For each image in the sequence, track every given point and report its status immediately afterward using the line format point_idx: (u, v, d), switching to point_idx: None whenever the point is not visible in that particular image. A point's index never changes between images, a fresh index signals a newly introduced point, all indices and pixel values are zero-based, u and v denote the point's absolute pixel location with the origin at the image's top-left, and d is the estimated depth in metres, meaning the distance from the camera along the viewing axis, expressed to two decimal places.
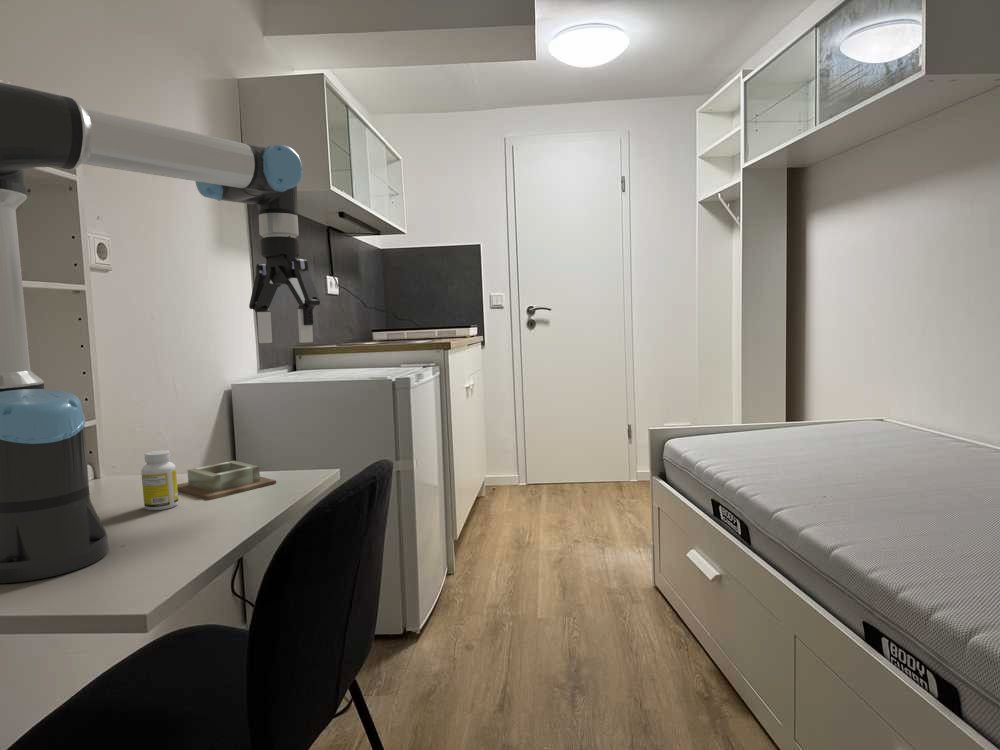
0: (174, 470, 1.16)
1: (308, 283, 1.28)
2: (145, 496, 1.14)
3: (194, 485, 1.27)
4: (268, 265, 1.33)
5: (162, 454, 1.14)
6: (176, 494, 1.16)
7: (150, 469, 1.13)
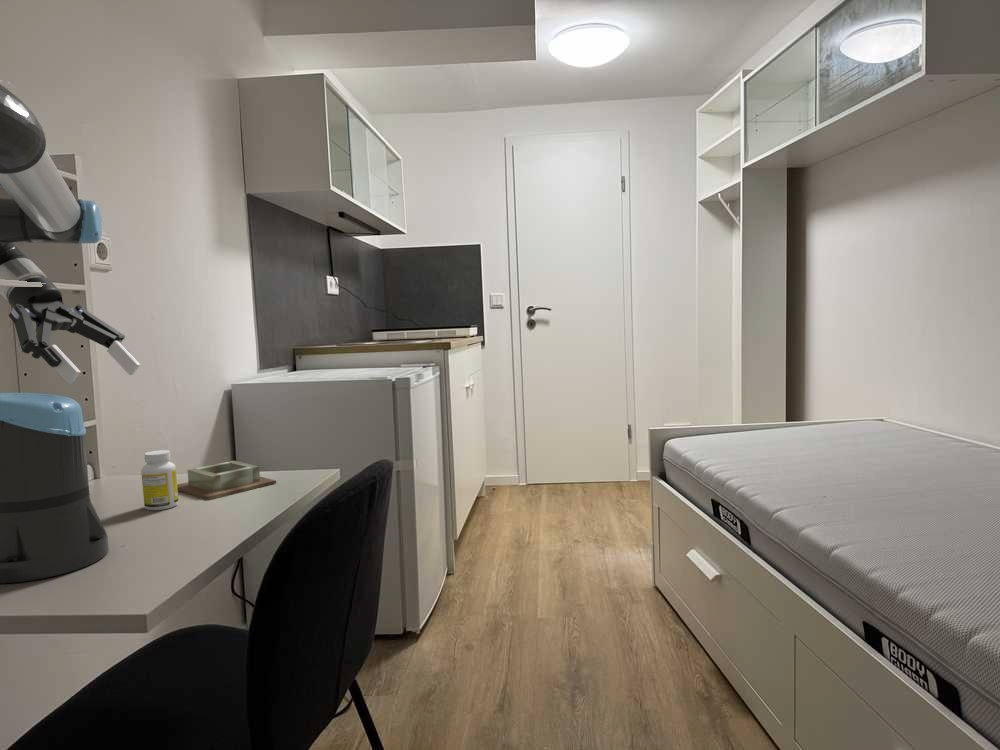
0: (174, 470, 1.16)
1: None
2: (145, 496, 1.14)
3: (194, 485, 1.27)
4: (38, 306, 1.14)
5: (162, 454, 1.14)
6: (176, 494, 1.16)
7: (150, 469, 1.13)
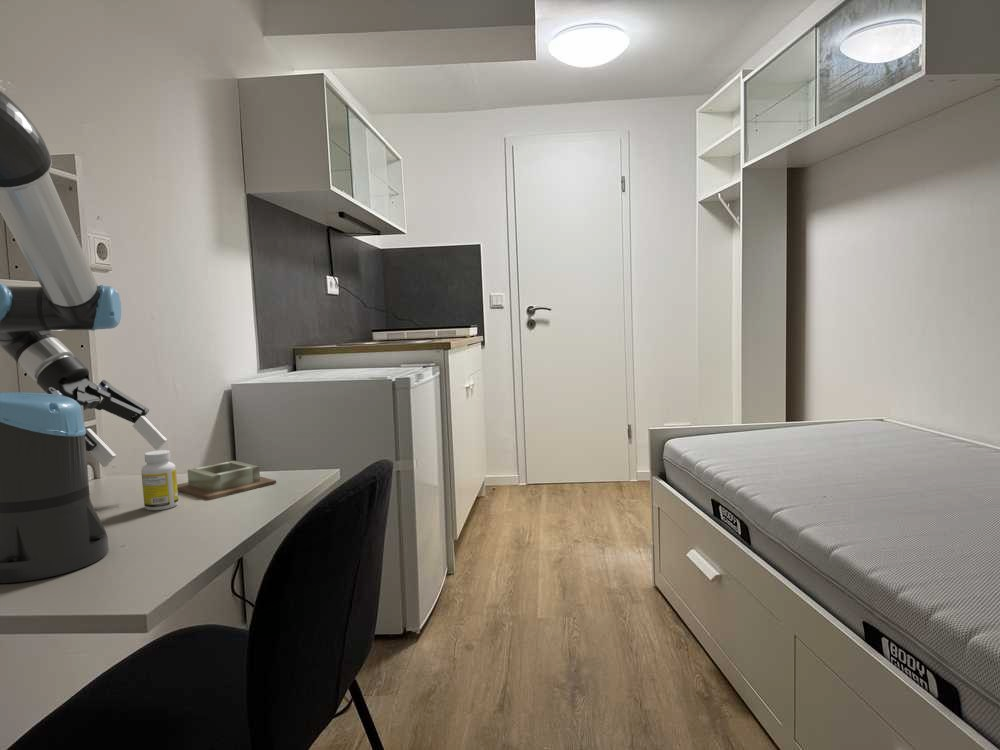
0: (174, 470, 1.16)
1: None
2: (145, 496, 1.14)
3: (194, 485, 1.27)
4: (68, 387, 1.15)
5: (162, 454, 1.14)
6: (176, 494, 1.16)
7: (150, 469, 1.13)
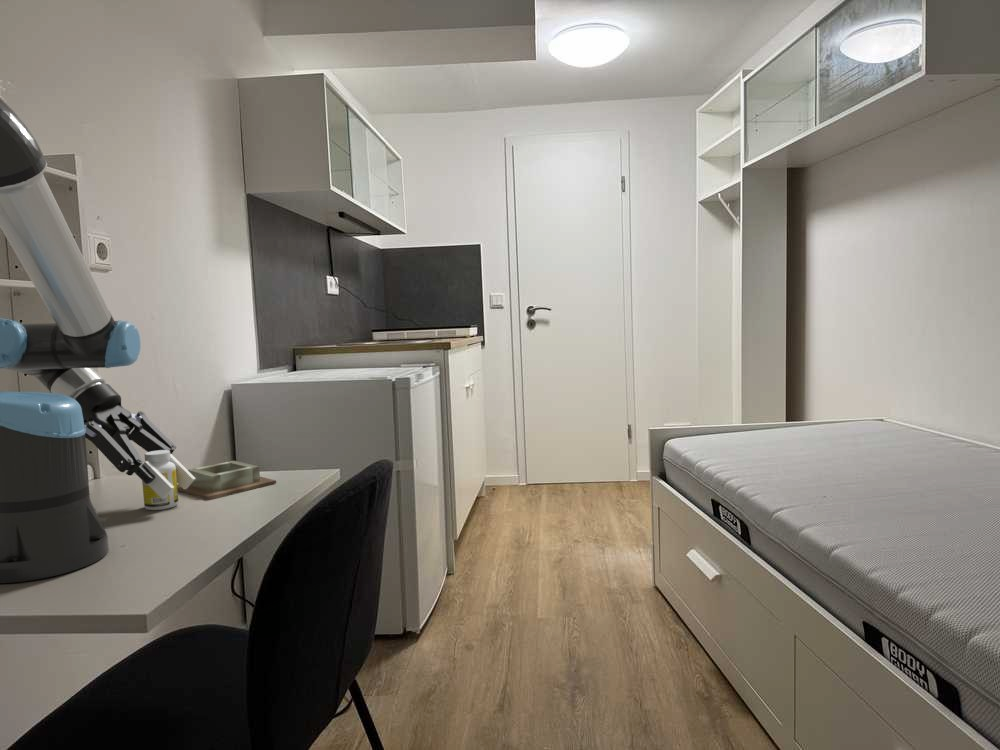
0: (174, 470, 1.16)
1: None
2: (145, 496, 1.14)
3: (194, 485, 1.27)
4: (100, 415, 1.13)
5: (162, 454, 1.14)
6: (176, 494, 1.16)
7: None
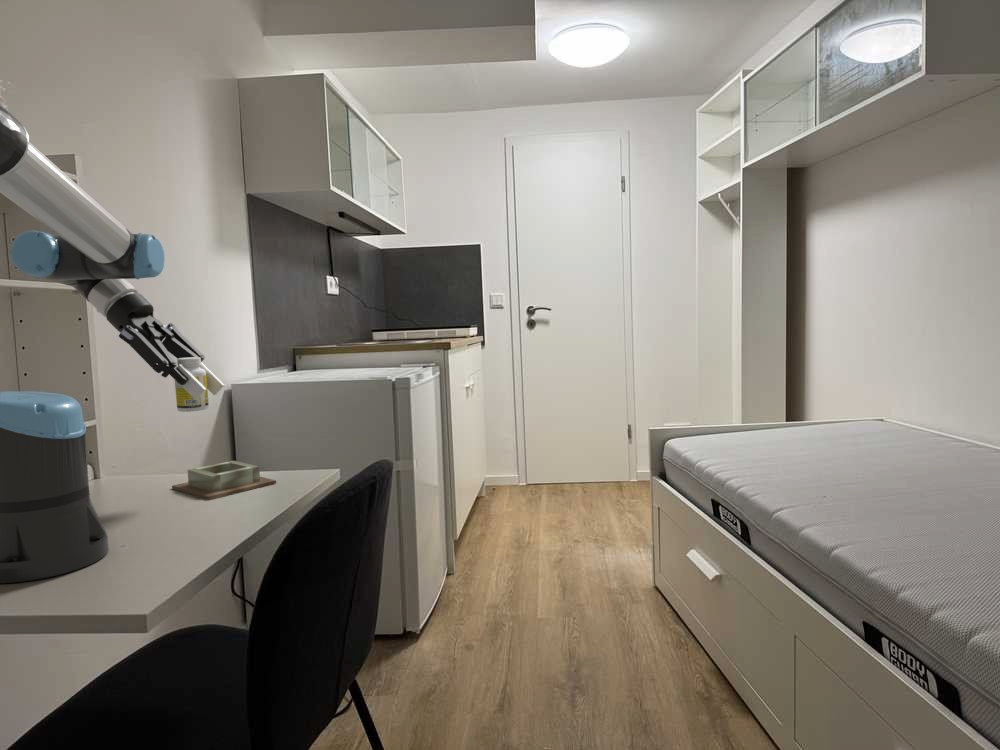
0: (205, 375, 1.23)
1: None
2: (178, 398, 1.21)
3: (194, 485, 1.27)
4: (135, 321, 1.20)
5: (194, 359, 1.21)
6: (207, 398, 1.23)
7: None
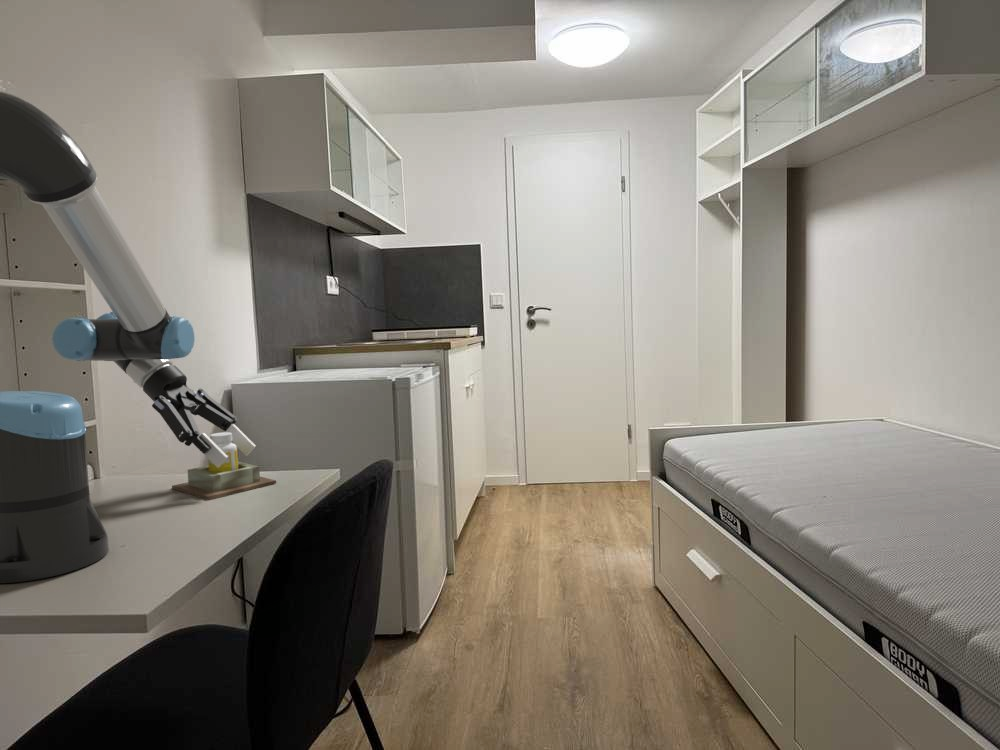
0: (236, 450, 1.29)
1: None
2: None
3: (194, 485, 1.27)
4: (171, 393, 1.26)
5: (226, 435, 1.27)
6: None
7: None
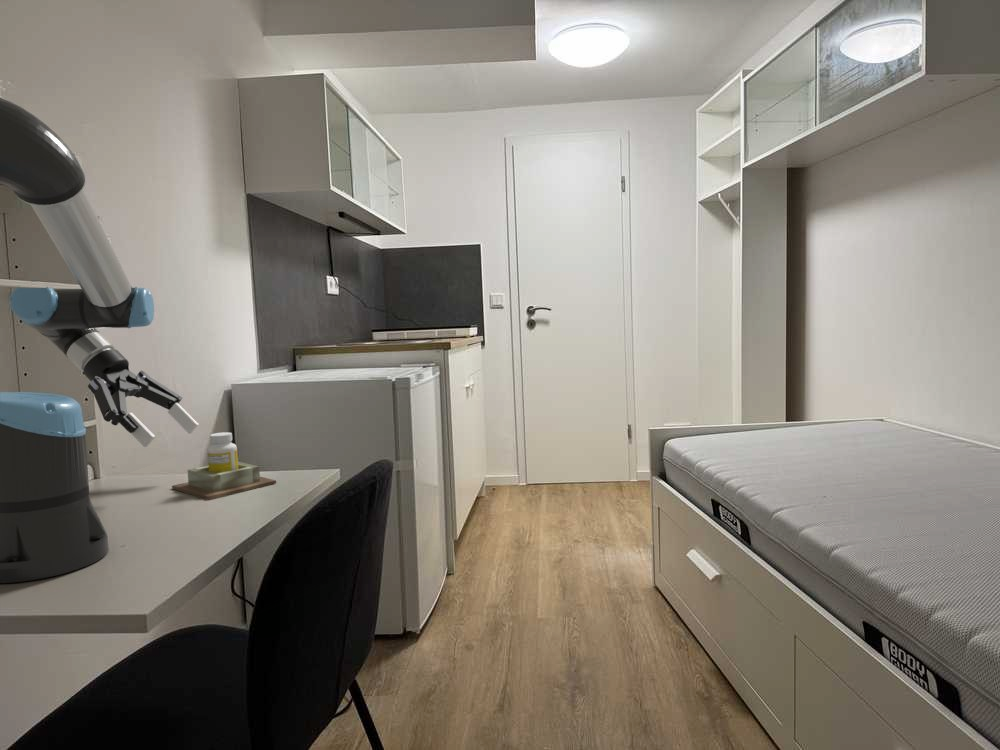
0: (236, 450, 1.29)
1: None
2: None
3: (194, 485, 1.27)
4: (111, 377, 1.28)
5: (226, 435, 1.27)
6: None
7: (216, 449, 1.26)
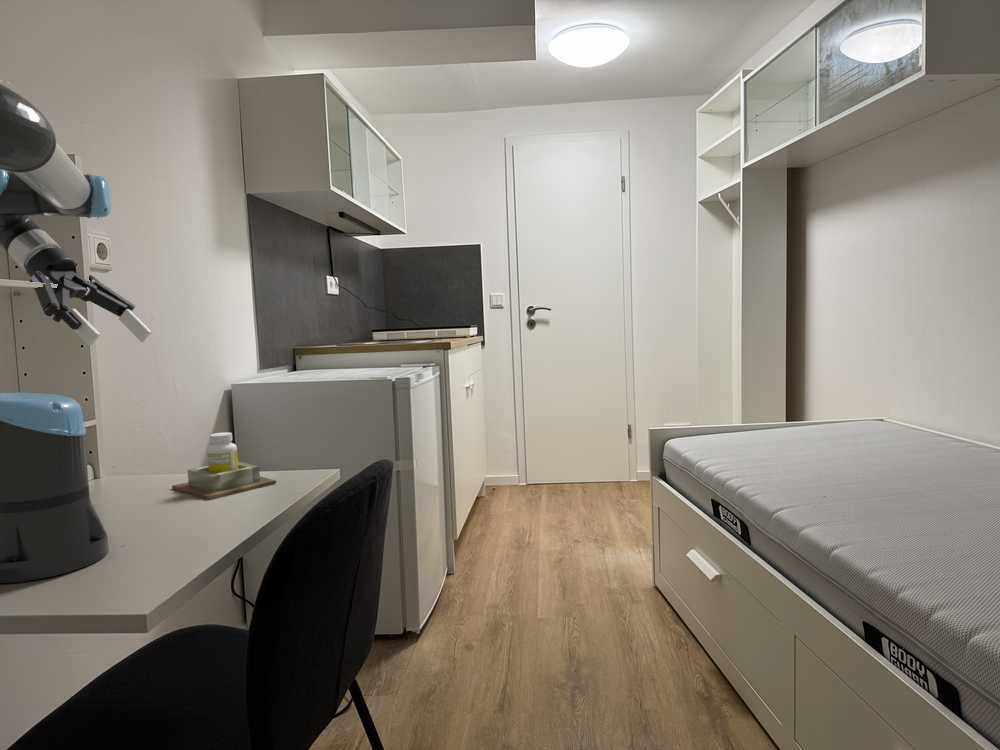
0: (236, 450, 1.29)
1: None
2: None
3: (194, 485, 1.27)
4: (55, 274, 1.21)
5: (226, 435, 1.27)
6: None
7: (216, 449, 1.26)
